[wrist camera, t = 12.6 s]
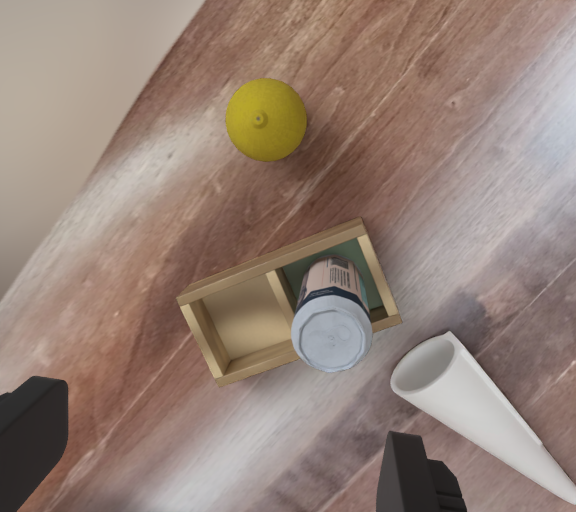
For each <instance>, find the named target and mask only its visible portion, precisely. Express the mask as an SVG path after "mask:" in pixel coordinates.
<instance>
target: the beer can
mask: <svg viewBox="0 0 576 512" xmlns="http://www.w3.org/2000/svg"><path fill="white" fill-rule="evenodd" d="M372 335H373V333H372V325H371V319H370V314H369V308H368V302H367V297H366V291H365V285H364V280H363V275H362V273H361V271H360V269H359V268H358V266H357V265H356V264H355V263H354V262H353V261H352V260H350V259H349V258H347V257H344V256H341V255H336V254H331V255H325V256H322V257H319V258H318V259H316V260H315V261H313V262H312V263H311V264H310V265H309V266H308V268H307V270H306V271H305V274H304V278H303V282H302V286H301V290H300V294H299V298H298V303H297V307H296V311H295V315H294V319H293V323H292V328H291V339H292V343H293V347H294V349H295V351H296V352H297V354H298V355H299V356H300V358H301V359H302V360H303V361H304V362H305V363H306V364H308V365H309V366H311V367H313V368H316V369H318V370H321V371H325V372H328V373H332V372H338V371H344V370H347V369H350V368H352V367H354V366H355V365H356V364H358V363H359V362H360V361H362V359H363V358H364V357H365V356H366V354H367V353H368V351H369V349H370V346H371V342H372Z"/></svg>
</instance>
